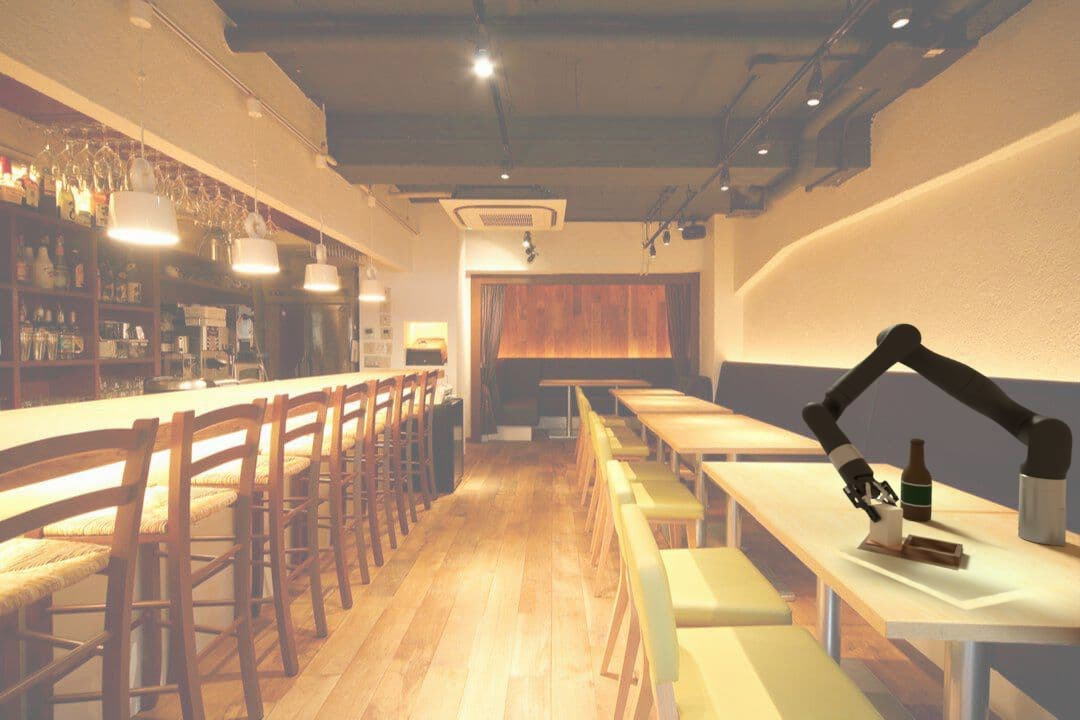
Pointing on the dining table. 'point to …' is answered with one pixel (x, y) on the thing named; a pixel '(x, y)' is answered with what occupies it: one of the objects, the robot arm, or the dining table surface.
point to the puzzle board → (920, 550)
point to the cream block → (887, 525)
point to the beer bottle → (916, 485)
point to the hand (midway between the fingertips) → (889, 519)
